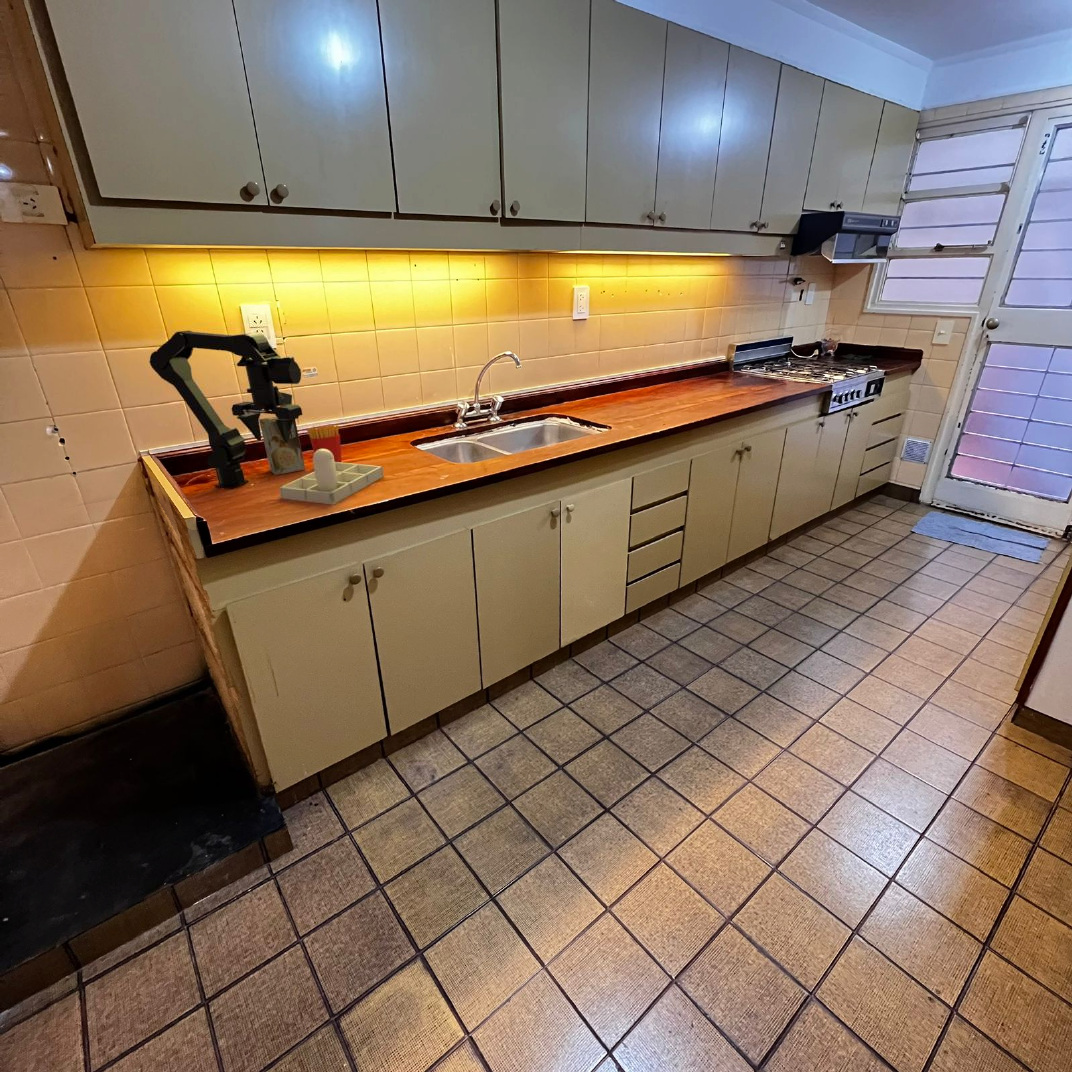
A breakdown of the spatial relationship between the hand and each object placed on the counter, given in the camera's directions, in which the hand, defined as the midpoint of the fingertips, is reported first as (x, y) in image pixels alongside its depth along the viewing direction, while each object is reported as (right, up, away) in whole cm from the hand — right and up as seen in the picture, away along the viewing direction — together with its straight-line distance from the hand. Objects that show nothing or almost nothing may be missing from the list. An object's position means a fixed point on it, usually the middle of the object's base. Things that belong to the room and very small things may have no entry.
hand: (273, 441), depth 156 cm
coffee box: (-4, -6, +19) cm, 21 cm away
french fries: (+7, -4, +22) cm, 24 cm away
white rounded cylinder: (+17, -15, -4) cm, 23 cm away
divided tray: (+16, -12, +4) cm, 20 cm away
